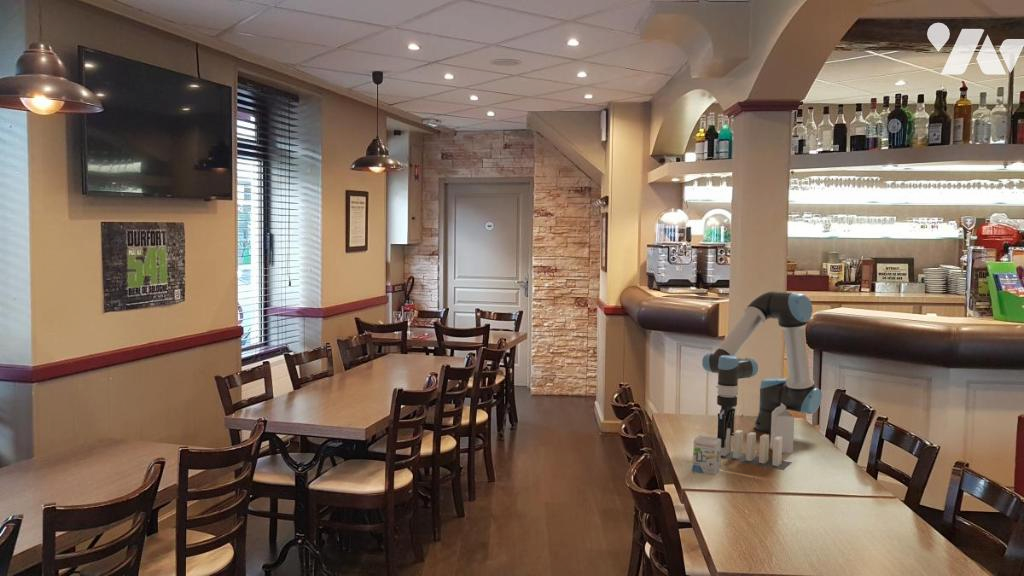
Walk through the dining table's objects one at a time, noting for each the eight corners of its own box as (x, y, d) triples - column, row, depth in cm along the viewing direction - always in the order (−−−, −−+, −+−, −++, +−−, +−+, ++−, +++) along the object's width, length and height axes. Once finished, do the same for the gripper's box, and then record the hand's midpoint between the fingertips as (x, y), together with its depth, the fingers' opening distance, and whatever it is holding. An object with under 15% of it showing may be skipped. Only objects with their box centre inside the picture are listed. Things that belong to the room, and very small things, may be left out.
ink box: (691, 471, 265) (692, 440, 264) (697, 465, 272) (698, 434, 272) (715, 475, 261) (716, 443, 260) (720, 469, 268) (721, 438, 268)
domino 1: (737, 454, 286) (738, 429, 285) (742, 455, 284) (743, 430, 284) (732, 457, 282) (733, 432, 281) (738, 458, 280) (739, 433, 280)
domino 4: (776, 462, 277) (777, 436, 276) (781, 463, 276) (782, 437, 275) (772, 465, 273) (773, 439, 272) (777, 466, 272) (778, 439, 271)
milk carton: (787, 448, 297) (789, 403, 296) (792, 453, 290) (795, 406, 289) (770, 448, 298) (772, 402, 296) (774, 453, 291) (776, 406, 289)
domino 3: (762, 459, 280) (763, 434, 279) (768, 460, 279) (769, 434, 278) (758, 462, 276) (759, 436, 275) (764, 463, 275) (765, 437, 274)
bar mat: (720, 450, 293) (720, 449, 293) (792, 463, 277) (792, 462, 277) (709, 456, 283) (709, 455, 283) (783, 471, 267) (783, 470, 267)
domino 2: (749, 457, 283) (750, 431, 282) (755, 458, 282) (756, 432, 281) (745, 460, 279) (746, 434, 278) (751, 461, 278) (752, 435, 277)
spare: (724, 452, 289) (725, 427, 288) (729, 453, 287) (730, 428, 287) (720, 455, 284) (721, 430, 284) (725, 456, 283) (726, 431, 283)
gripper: (725, 390, 294) (723, 446, 295) (709, 397, 279) (707, 457, 281) (744, 392, 290) (741, 450, 291) (728, 400, 275) (726, 460, 276)
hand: (725, 453), depth 286 cm, fingers closed on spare, 5 cm apart
